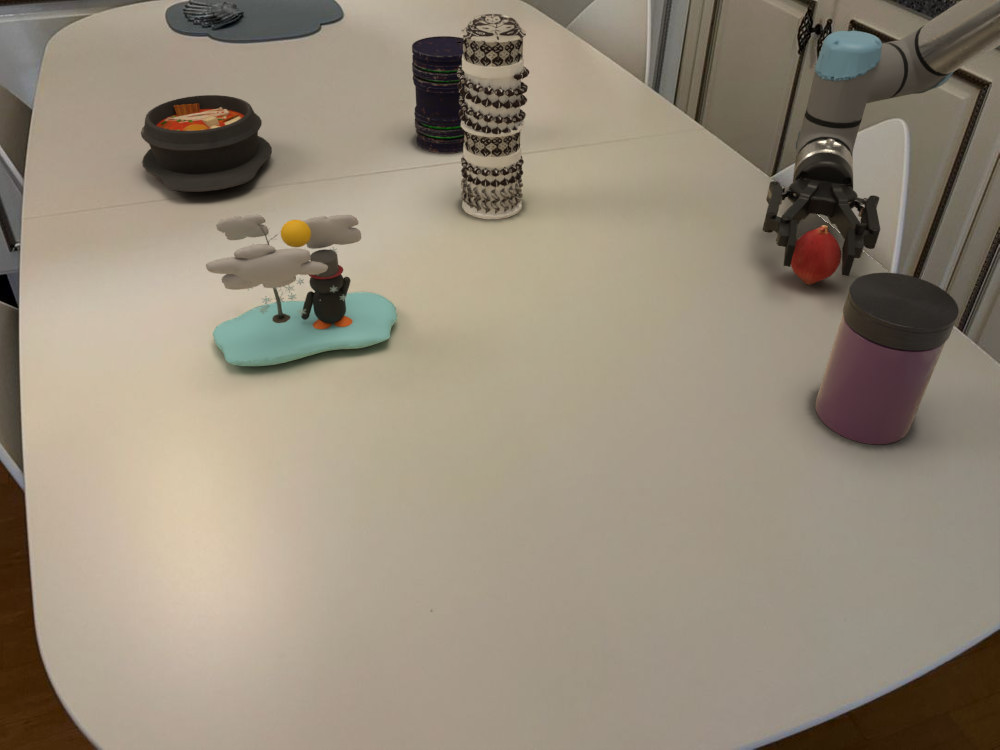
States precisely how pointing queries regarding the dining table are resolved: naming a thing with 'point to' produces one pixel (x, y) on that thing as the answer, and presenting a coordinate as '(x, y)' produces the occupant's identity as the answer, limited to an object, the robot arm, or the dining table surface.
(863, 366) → the jar
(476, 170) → the decorative candle
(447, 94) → the storage jar
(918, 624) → the dining table surface
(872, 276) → the jar lid
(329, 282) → the penguin figurine
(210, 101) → the casserole
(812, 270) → the red pomegranate
